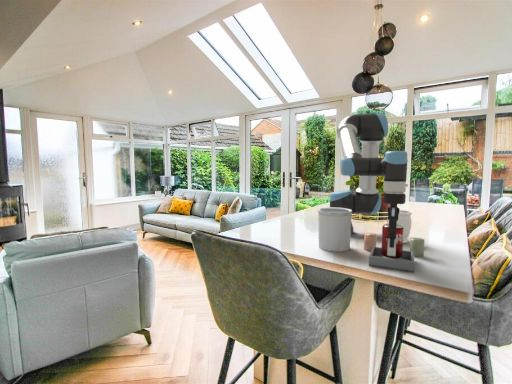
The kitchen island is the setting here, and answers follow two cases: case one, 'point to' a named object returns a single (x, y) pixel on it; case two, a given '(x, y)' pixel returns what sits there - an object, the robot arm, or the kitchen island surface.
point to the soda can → (398, 241)
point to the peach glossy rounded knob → (369, 241)
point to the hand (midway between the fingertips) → (391, 252)
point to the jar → (404, 223)
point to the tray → (392, 260)
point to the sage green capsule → (417, 247)
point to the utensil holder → (334, 228)
